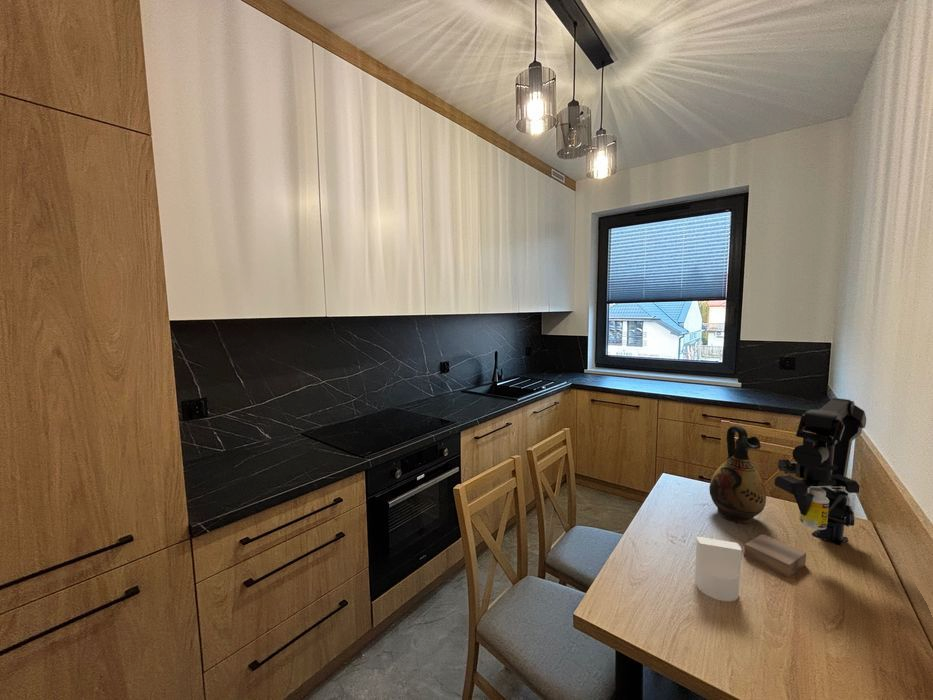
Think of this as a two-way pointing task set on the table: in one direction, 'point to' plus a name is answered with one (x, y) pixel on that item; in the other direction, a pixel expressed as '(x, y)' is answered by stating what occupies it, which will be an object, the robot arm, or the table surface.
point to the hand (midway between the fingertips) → (813, 514)
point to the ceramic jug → (738, 480)
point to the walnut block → (775, 555)
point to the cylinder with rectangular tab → (718, 568)
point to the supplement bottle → (817, 510)
